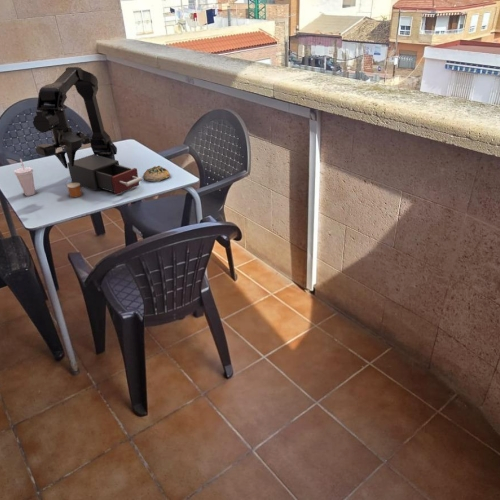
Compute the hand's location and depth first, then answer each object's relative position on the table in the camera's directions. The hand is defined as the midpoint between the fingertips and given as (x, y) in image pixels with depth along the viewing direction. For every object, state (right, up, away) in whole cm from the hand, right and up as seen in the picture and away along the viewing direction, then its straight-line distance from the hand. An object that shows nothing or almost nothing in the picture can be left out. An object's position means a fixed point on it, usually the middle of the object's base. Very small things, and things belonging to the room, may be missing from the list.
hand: (69, 167), depth 159 cm
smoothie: (-18, -9, +7) cm, 22 cm away
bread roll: (+28, 0, +20) cm, 34 cm away
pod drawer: (+16, -6, +9) cm, 19 cm away
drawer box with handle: (+4, -3, +17) cm, 17 cm away
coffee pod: (0, -9, +6) cm, 11 cm away
